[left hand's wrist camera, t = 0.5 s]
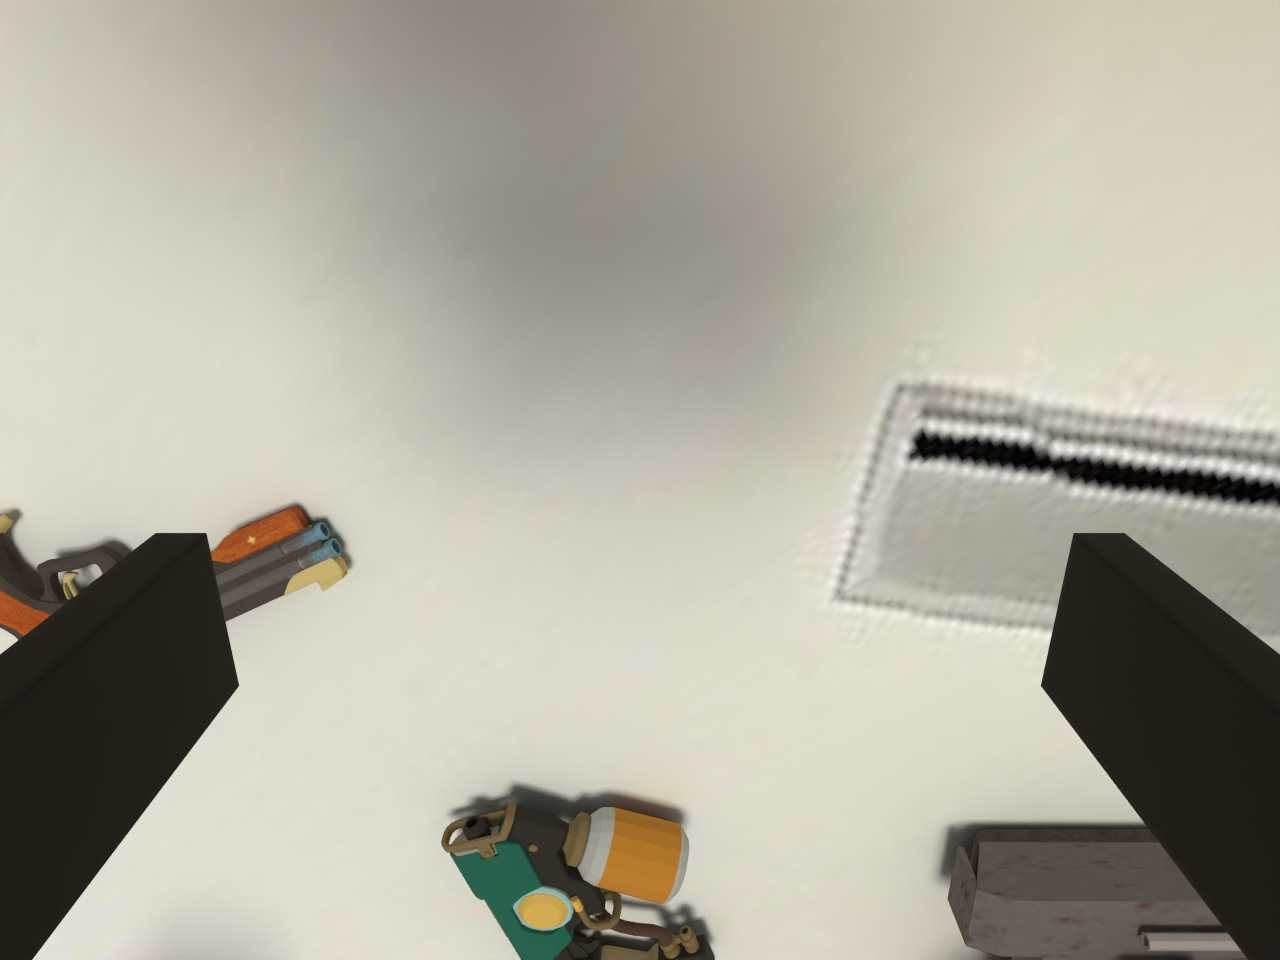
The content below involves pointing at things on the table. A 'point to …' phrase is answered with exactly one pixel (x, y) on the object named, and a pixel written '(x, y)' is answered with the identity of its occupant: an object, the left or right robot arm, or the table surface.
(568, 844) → the spray gun
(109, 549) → the toy gun
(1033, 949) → the toy
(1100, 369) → the table surface
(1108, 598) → the left robot arm
